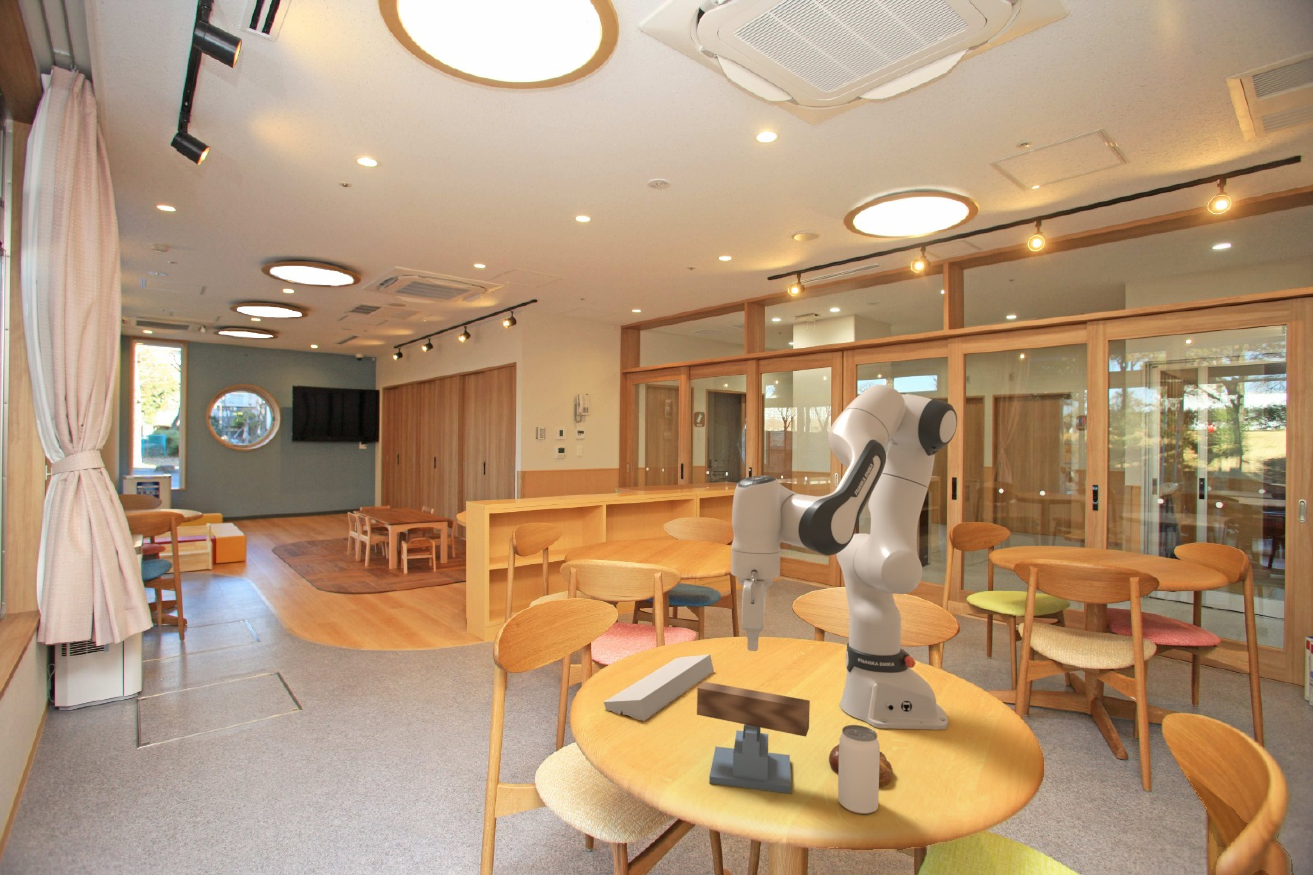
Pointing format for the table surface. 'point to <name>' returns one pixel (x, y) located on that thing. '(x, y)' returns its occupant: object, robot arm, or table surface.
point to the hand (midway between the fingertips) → (753, 641)
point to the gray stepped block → (751, 764)
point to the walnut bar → (753, 708)
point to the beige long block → (660, 687)
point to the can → (858, 769)
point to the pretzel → (884, 766)
